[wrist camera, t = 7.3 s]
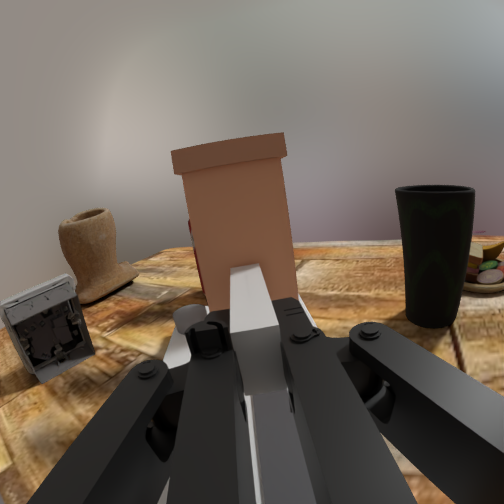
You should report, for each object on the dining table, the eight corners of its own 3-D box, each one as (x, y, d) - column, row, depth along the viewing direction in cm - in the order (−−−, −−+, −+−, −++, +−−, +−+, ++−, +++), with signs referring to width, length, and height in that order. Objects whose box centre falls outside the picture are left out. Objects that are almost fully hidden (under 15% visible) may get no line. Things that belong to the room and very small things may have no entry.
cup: (464, 338, 17) (479, 193, 14) (387, 329, 22) (387, 192, 19) (465, 299, 23) (470, 185, 20) (403, 293, 28) (402, 185, 24)
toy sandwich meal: (513, 305, 18) (521, 263, 17) (416, 285, 29) (418, 248, 28) (516, 267, 25) (519, 235, 24) (442, 256, 36) (443, 226, 35)
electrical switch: (89, 341, 28) (65, 268, 25) (109, 358, 25) (80, 277, 22) (29, 373, 20) (-6, 299, 17) (41, 398, 17) (-3, 314, 15)
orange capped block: (309, 360, 16) (283, 132, 13) (220, 376, 16) (170, 151, 13) (299, 335, 19) (274, 141, 16) (221, 348, 19) (182, 156, 16)
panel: (412, 558, 3) (448, 541, 2) (134, 586, 3) (82, 570, 2) (298, 312, 29) (295, 277, 28) (187, 330, 28) (177, 296, 27)
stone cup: (90, 314, 35) (62, 215, 31) (63, 304, 41) (40, 224, 37) (157, 278, 48) (139, 196, 44) (121, 275, 54) (105, 205, 50)
